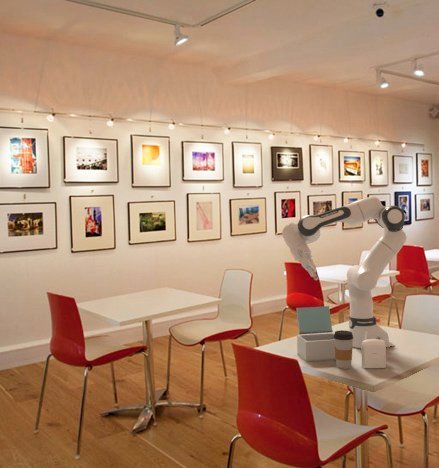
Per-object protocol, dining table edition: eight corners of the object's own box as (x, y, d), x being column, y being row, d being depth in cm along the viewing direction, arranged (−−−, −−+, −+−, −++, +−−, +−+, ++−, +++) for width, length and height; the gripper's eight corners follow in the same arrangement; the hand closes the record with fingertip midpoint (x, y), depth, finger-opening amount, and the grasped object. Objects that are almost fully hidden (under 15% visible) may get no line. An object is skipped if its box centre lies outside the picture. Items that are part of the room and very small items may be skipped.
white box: (333, 351, 254) (333, 332, 254) (343, 358, 242) (343, 339, 242) (297, 353, 251) (297, 335, 251) (305, 361, 239) (305, 341, 239)
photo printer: (362, 369, 228) (362, 340, 227) (360, 365, 232) (360, 337, 231) (387, 369, 227) (387, 340, 226) (384, 365, 231) (384, 337, 230)
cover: (332, 332, 252) (332, 332, 253) (329, 306, 256) (328, 306, 257) (299, 334, 250) (299, 334, 251) (296, 308, 253) (295, 308, 254)
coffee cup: (353, 370, 227) (353, 335, 226) (333, 369, 228) (333, 334, 227) (353, 364, 235) (352, 330, 234) (333, 363, 236) (333, 329, 235)
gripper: (303, 245, 253) (316, 270, 247) (311, 254, 271) (324, 278, 266) (291, 252, 254) (304, 277, 248) (300, 260, 272) (313, 284, 267)
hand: (314, 277), depth 257 cm, fingers open, 8 cm apart
